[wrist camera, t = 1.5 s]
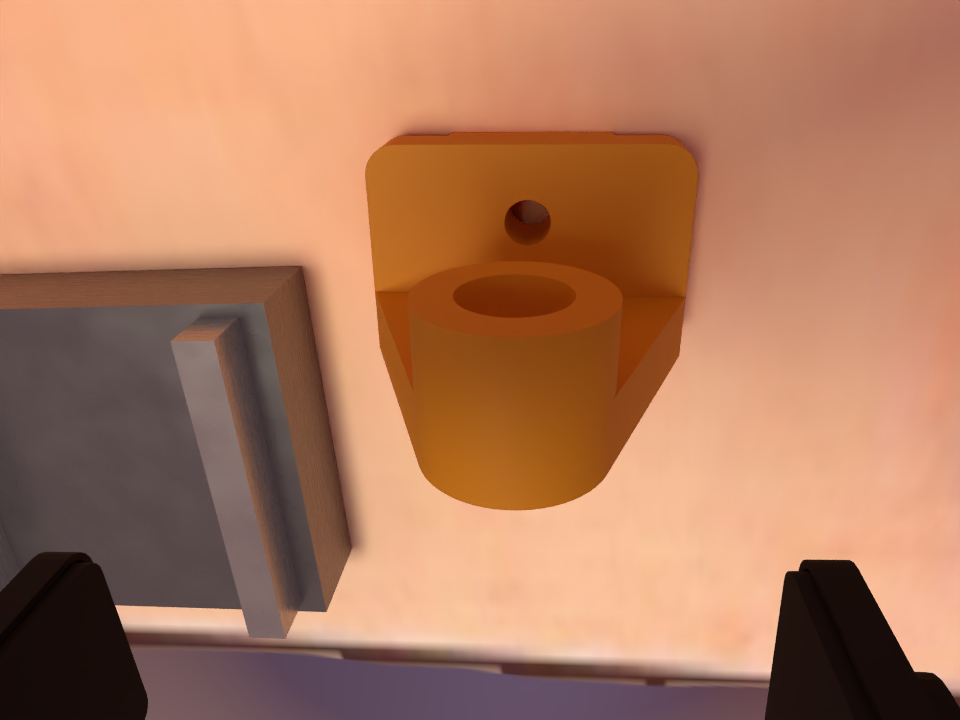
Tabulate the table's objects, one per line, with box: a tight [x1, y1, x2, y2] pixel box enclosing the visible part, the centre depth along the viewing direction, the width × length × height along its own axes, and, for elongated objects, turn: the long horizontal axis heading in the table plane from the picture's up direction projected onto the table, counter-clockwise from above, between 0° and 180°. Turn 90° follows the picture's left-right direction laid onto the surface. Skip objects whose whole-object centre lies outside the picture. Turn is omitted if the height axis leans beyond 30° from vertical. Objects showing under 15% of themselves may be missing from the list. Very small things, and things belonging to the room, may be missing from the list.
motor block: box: [0, 266, 351, 639], centre depth 30 cm, size 20×14×6 cm
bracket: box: [365, 132, 698, 510], centre depth 22 cm, size 11×7×12 cm, turn 91°
